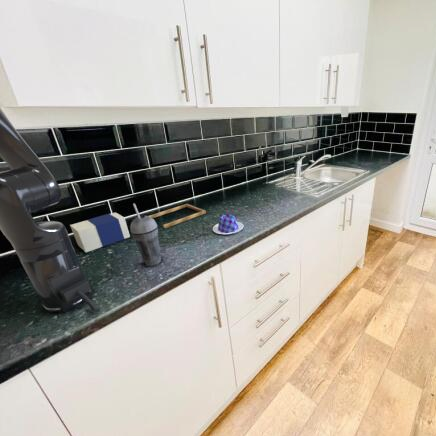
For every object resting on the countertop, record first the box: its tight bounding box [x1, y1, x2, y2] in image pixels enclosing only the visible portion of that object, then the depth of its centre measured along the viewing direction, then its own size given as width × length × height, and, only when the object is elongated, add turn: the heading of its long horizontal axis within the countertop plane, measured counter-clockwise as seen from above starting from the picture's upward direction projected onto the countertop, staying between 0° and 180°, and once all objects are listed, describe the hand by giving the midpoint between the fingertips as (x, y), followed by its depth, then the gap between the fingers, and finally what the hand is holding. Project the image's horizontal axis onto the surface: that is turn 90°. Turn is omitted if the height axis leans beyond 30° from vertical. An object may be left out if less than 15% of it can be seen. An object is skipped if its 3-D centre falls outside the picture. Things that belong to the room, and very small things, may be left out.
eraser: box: [69, 212, 131, 253], centre depth 92 cm, size 14×8×8 cm, turn 143°
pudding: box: [212, 213, 245, 235], centre depth 101 cm, size 12×12×5 cm
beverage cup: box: [130, 203, 162, 267], centre depth 77 cm, size 7×7×20 cm
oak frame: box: [148, 203, 207, 229], centre depth 113 cm, size 20×15×1 cm
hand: (19, 194), depth 73 cm, fingers closed
